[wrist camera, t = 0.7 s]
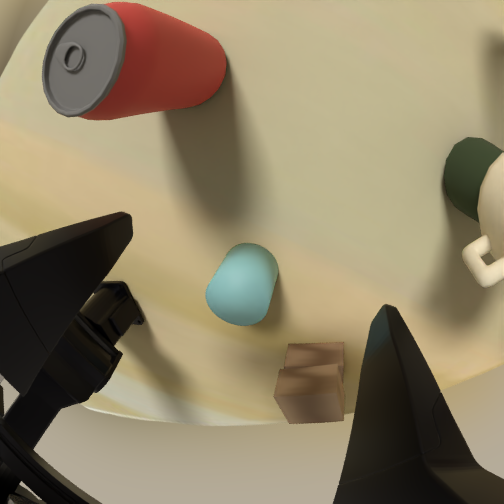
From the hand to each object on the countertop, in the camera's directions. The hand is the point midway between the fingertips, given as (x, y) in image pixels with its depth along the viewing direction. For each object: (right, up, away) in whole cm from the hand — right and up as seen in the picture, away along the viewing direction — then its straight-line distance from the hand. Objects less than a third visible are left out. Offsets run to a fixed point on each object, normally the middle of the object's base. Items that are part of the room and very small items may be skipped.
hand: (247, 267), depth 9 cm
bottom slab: (+8, -12, +22) cm, 26 cm away
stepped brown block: (+7, -13, +19) cm, 24 cm away
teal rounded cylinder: (0, -1, +17) cm, 17 cm away
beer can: (-5, +15, +9) cm, 18 cm away
